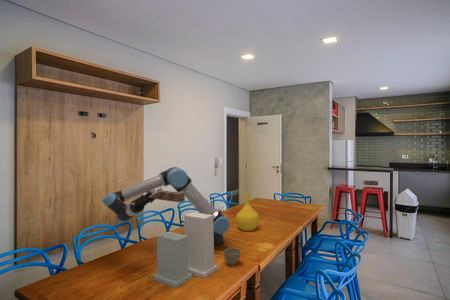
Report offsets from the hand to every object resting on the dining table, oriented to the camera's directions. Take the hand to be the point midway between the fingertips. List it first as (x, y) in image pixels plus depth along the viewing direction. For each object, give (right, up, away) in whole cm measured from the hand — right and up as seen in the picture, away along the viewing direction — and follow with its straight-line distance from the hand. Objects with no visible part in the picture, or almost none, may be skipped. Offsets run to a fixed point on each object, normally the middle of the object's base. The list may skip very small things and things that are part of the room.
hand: (159, 189), depth 141 cm
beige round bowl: (+39, -44, +12) cm, 60 cm away
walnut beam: (+4, -5, -2) cm, 6 cm away
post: (+8, -45, -5) cm, 46 cm away
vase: (+54, -44, +75) cm, 102 cm away
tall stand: (+21, -45, +4) cm, 49 cm away
